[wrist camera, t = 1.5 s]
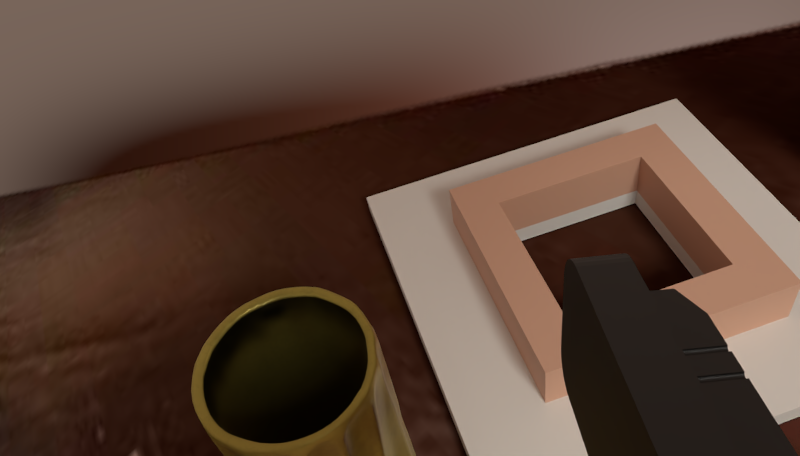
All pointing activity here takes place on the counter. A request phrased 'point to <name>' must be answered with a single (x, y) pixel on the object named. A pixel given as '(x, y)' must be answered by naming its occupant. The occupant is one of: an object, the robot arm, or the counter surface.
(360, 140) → the counter surface
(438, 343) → the socket stand
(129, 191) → the counter surface
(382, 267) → the counter surface
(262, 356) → the vase
